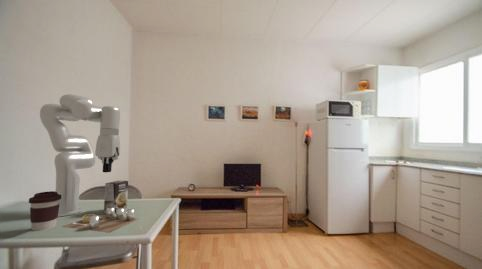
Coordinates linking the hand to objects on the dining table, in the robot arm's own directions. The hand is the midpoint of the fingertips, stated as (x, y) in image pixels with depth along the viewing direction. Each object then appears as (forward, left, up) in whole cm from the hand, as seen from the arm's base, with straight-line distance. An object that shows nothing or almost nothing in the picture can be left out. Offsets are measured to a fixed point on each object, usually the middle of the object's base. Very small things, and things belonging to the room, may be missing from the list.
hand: (106, 171), depth 98 cm
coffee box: (-4, +10, -23) cm, 25 cm away
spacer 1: (+6, -10, -21) cm, 24 cm away
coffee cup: (-15, -15, -23) cm, 31 cm away
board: (+4, -5, -22) cm, 23 cm away
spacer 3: (+7, +1, -21) cm, 23 cm away
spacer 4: (+13, +1, -21) cm, 25 cm away
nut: (-4, -5, -21) cm, 22 cm away
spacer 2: (+2, +1, -21) cm, 21 cm away
